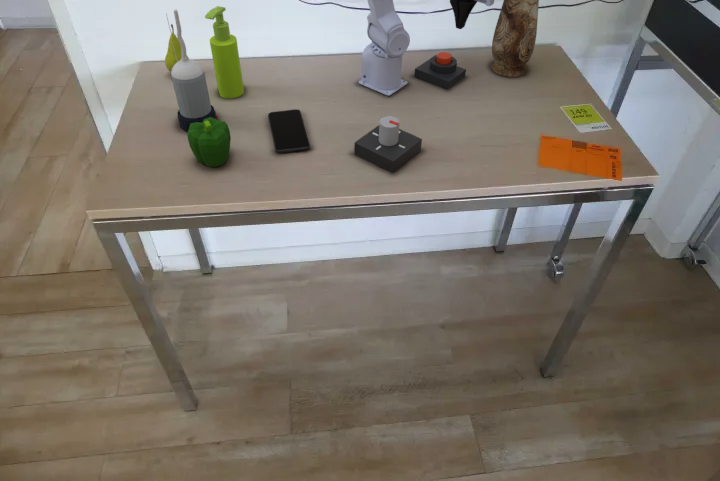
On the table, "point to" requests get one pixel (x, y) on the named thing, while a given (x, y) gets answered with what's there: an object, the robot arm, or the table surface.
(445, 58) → the power button
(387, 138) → the dial
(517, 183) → the table surface
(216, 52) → the soap dispenser
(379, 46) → the robot arm
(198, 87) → the humidifier
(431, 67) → the button block
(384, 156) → the dial panel
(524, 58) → the vase
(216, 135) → the bell pepper
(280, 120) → the smartphone
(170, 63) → the fruit
